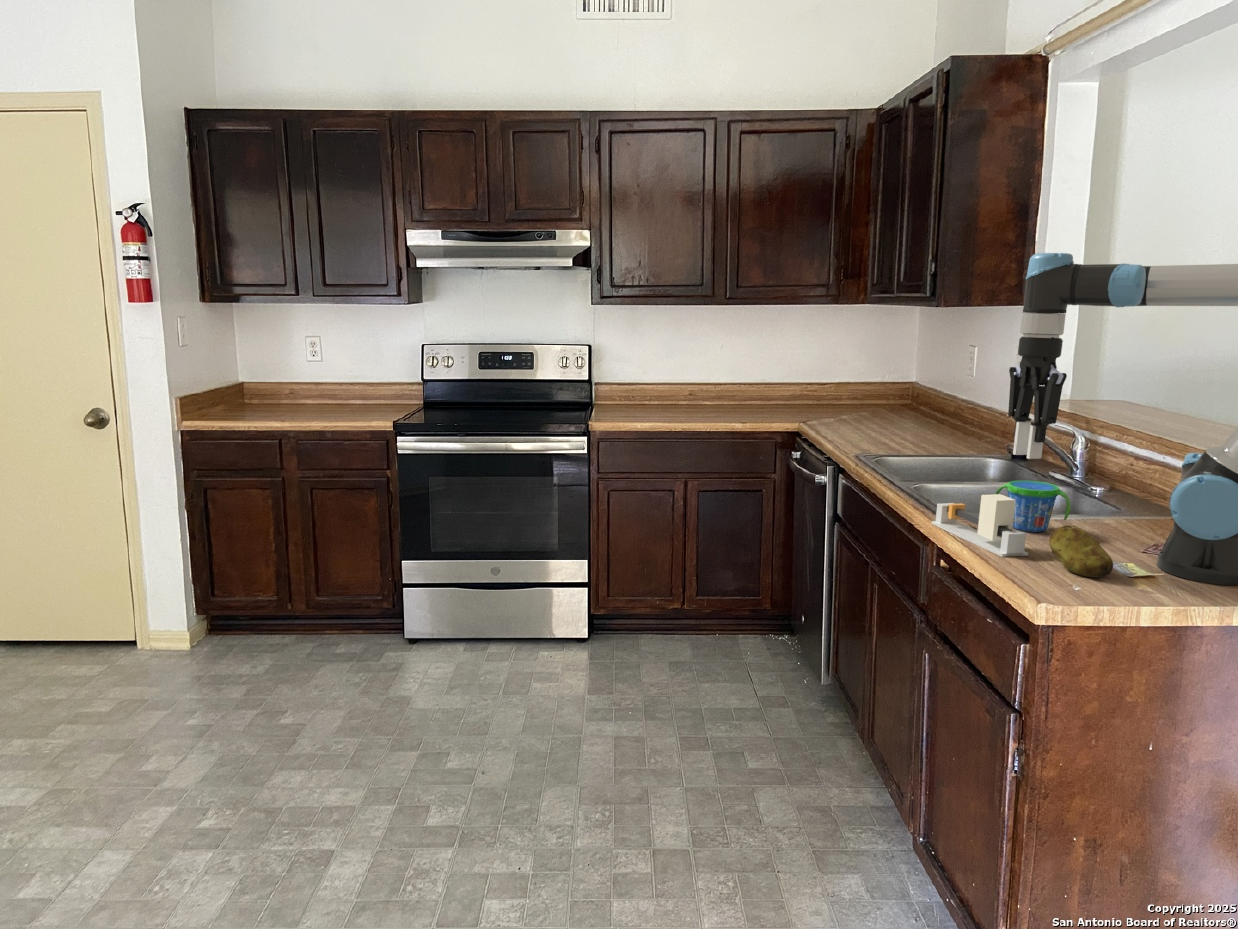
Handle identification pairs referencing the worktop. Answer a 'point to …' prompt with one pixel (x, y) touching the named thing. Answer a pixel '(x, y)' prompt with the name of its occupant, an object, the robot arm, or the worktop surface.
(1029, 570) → the worktop surface
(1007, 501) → the tall cream pillar
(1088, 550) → the potato
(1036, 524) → the snack cup
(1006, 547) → the sliding block rail
